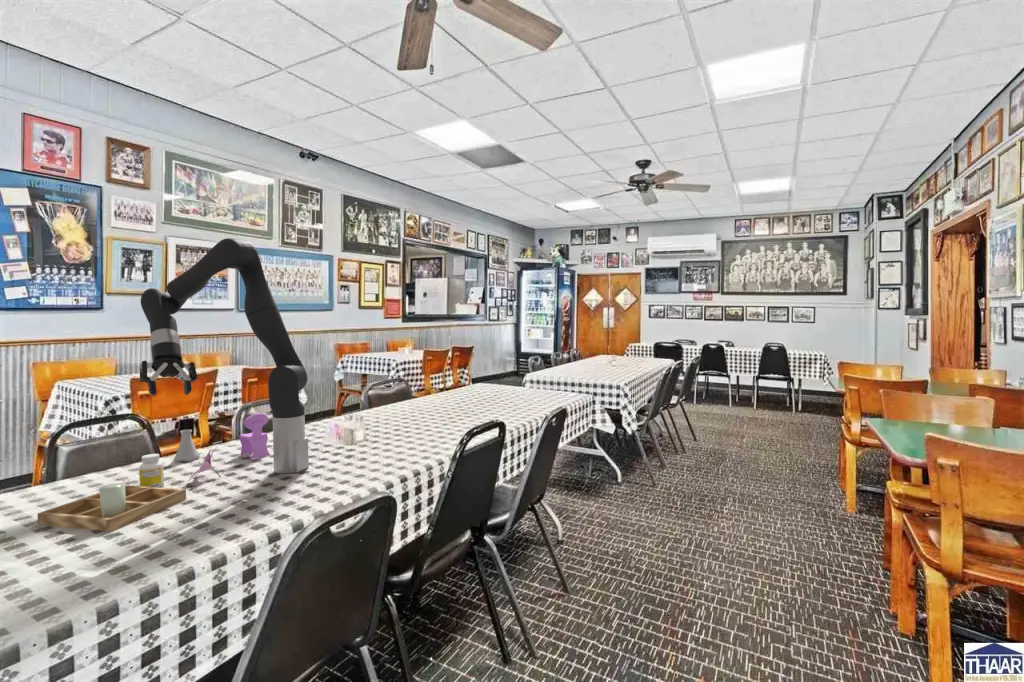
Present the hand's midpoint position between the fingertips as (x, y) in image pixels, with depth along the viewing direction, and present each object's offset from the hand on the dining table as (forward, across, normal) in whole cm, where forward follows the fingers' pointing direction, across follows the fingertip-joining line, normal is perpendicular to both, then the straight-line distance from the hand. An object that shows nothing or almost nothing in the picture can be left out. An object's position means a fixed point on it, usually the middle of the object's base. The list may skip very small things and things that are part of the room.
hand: (171, 393), depth 148 cm
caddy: (+34, -16, -5) cm, 38 cm away
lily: (+26, +8, +5) cm, 28 cm away
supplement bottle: (+27, -5, +6) cm, 28 cm away
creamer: (+37, -18, -11) cm, 43 cm away
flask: (+11, +12, +29) cm, 33 cm away
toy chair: (+16, +29, +17) cm, 37 cm away
